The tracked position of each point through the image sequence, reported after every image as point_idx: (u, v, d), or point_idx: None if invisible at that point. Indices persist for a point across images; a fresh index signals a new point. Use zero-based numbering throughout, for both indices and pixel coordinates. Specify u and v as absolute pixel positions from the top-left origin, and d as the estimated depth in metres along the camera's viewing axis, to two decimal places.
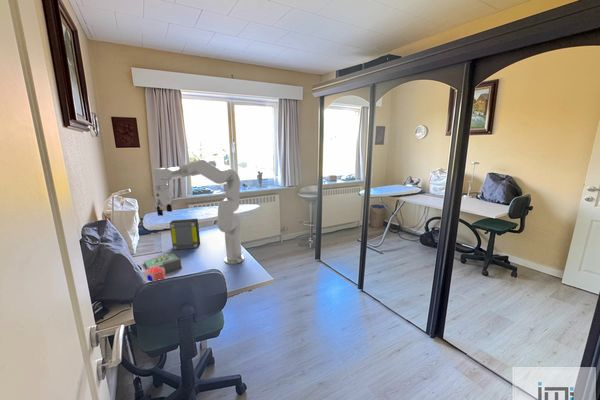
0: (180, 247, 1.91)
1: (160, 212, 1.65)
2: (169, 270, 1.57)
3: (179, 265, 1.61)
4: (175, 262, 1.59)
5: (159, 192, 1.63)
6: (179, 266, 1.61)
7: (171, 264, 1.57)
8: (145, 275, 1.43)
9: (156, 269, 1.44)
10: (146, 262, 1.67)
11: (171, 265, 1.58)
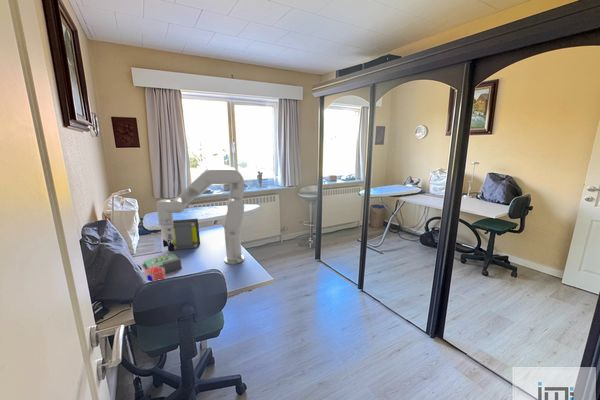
0: (180, 247, 1.91)
1: (172, 247, 1.53)
2: (169, 270, 1.57)
3: (179, 265, 1.61)
4: (175, 262, 1.59)
5: (170, 226, 1.51)
6: (179, 266, 1.61)
7: (171, 264, 1.57)
8: (145, 275, 1.43)
9: (156, 269, 1.44)
10: (146, 262, 1.67)
11: (171, 265, 1.58)
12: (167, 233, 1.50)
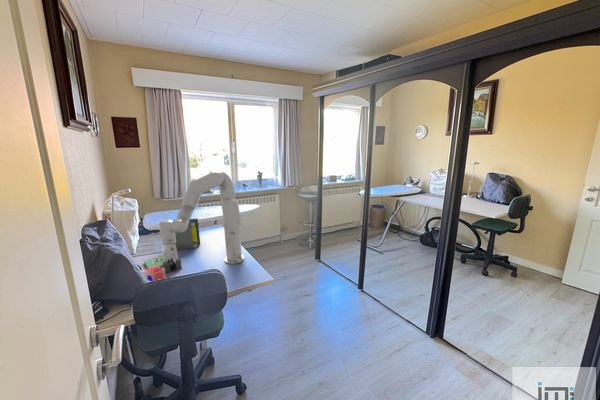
0: (180, 247, 1.91)
1: (175, 266, 1.58)
2: (169, 270, 1.57)
3: (179, 265, 1.61)
4: None
5: (173, 245, 1.54)
6: (179, 266, 1.61)
7: None
8: (145, 275, 1.43)
9: (156, 269, 1.44)
10: (146, 262, 1.67)
11: None
12: (170, 252, 1.53)
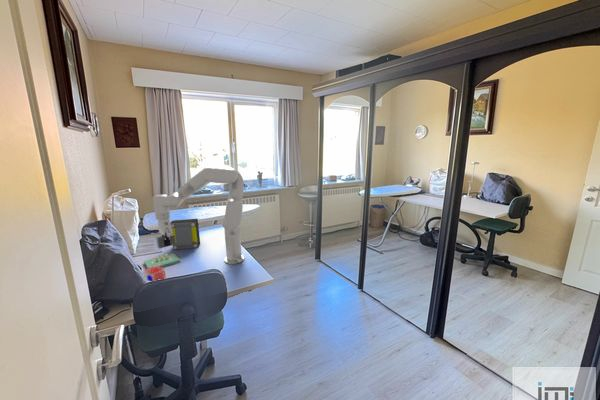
0: (180, 247, 1.91)
1: (169, 242, 1.57)
2: (163, 245, 1.56)
3: (173, 241, 1.60)
4: None
5: (167, 220, 1.53)
6: (173, 242, 1.60)
7: None
8: (145, 275, 1.43)
9: (156, 269, 1.44)
10: (146, 262, 1.67)
11: None
12: (164, 227, 1.52)
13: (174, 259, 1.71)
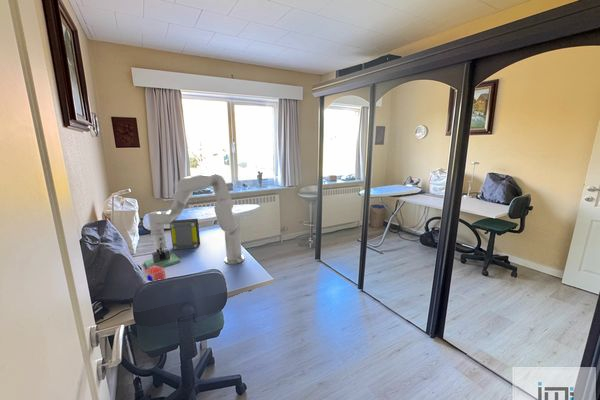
0: (180, 247, 1.91)
1: (164, 256, 1.66)
2: (158, 261, 1.67)
3: (168, 256, 1.70)
4: None
5: (162, 235, 1.63)
6: (168, 257, 1.70)
7: None
8: (145, 275, 1.43)
9: (156, 269, 1.44)
10: (146, 262, 1.67)
11: None
12: (159, 242, 1.62)
13: (174, 259, 1.71)
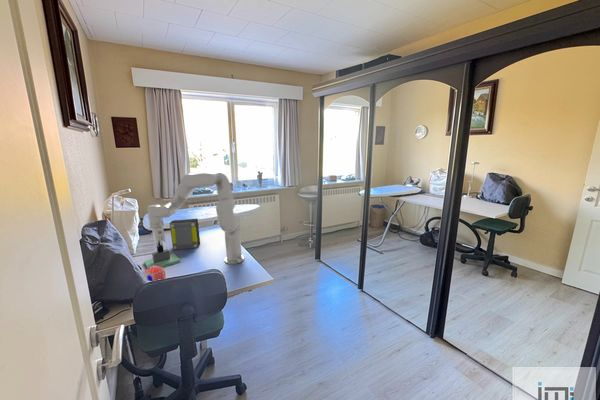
0: (180, 247, 1.91)
1: (162, 248, 1.67)
2: (158, 261, 1.67)
3: (168, 256, 1.70)
4: (164, 253, 1.68)
5: (161, 229, 1.62)
6: (168, 257, 1.70)
7: (160, 255, 1.67)
8: (145, 275, 1.43)
9: (156, 269, 1.44)
10: (146, 262, 1.67)
11: (160, 256, 1.67)
12: (158, 235, 1.61)
13: (174, 259, 1.71)
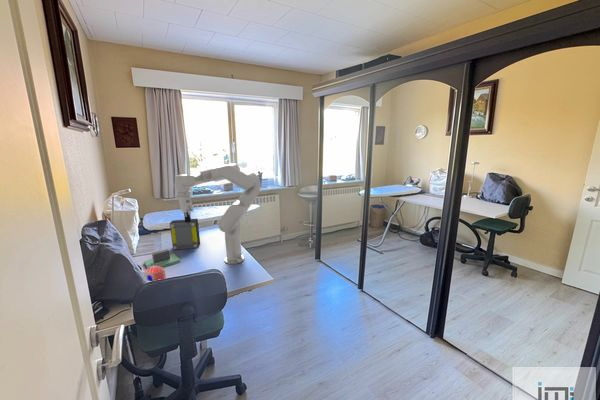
0: (180, 247, 1.91)
1: (189, 219, 1.68)
2: (158, 261, 1.67)
3: (168, 256, 1.70)
4: (164, 253, 1.68)
5: (189, 198, 1.63)
6: (168, 257, 1.70)
7: (160, 255, 1.67)
8: (145, 275, 1.43)
9: (156, 269, 1.44)
10: (146, 262, 1.67)
11: (160, 256, 1.67)
12: (186, 205, 1.62)
13: (174, 259, 1.71)
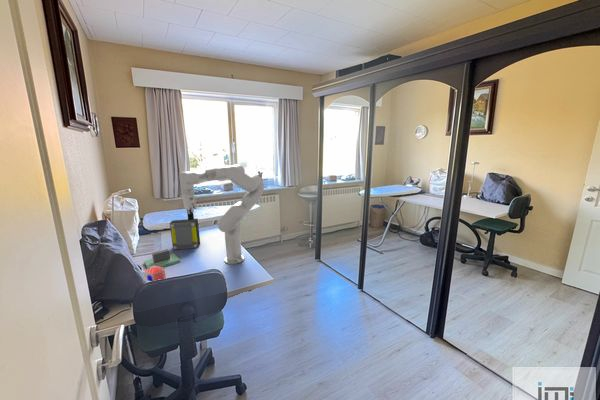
0: (180, 247, 1.91)
1: (192, 216, 1.68)
2: (158, 261, 1.67)
3: (168, 256, 1.70)
4: (164, 253, 1.68)
5: (192, 195, 1.63)
6: (168, 257, 1.70)
7: (160, 255, 1.67)
8: (145, 275, 1.43)
9: (156, 269, 1.44)
10: (146, 262, 1.67)
11: (160, 256, 1.67)
12: (189, 202, 1.62)
13: (174, 259, 1.71)
